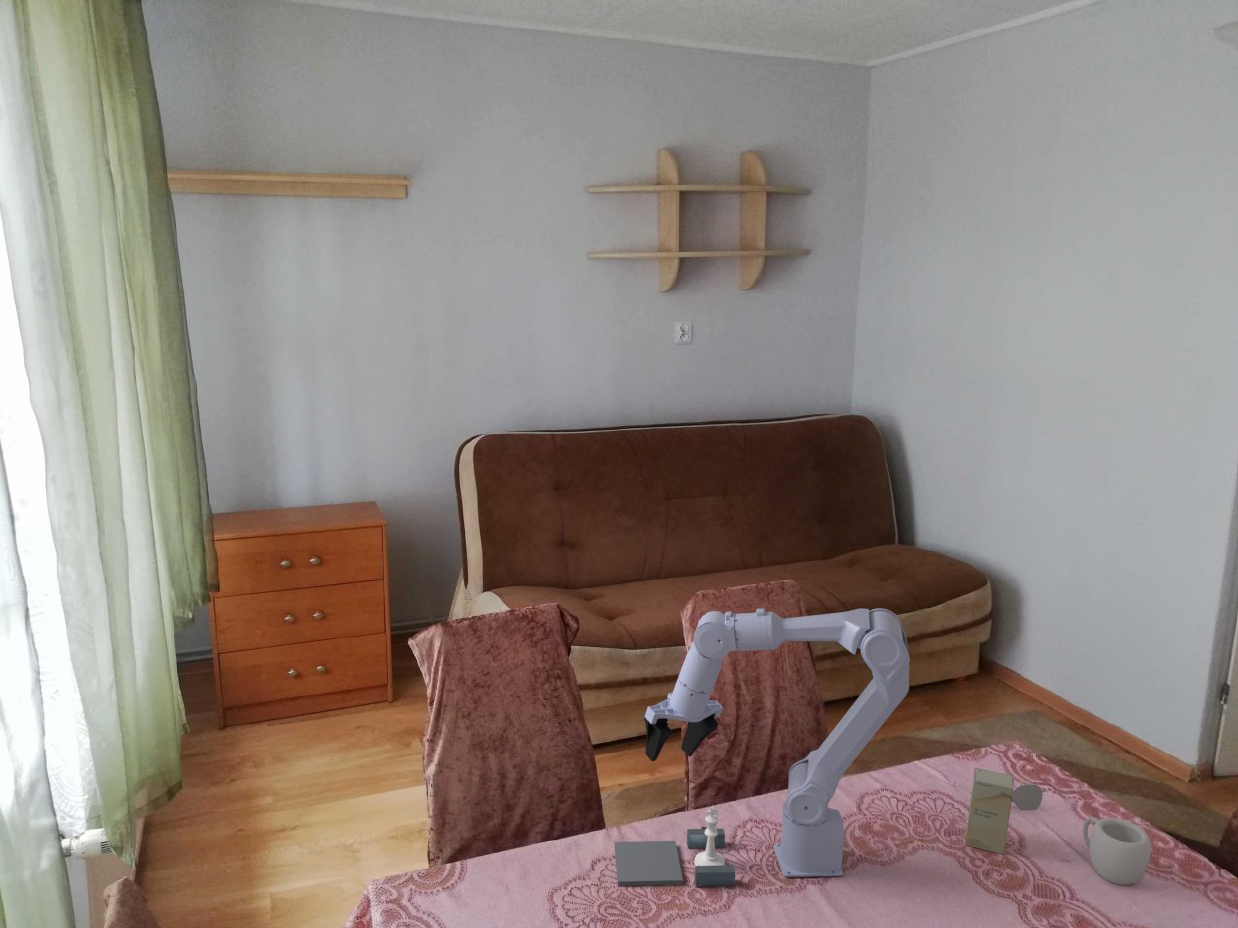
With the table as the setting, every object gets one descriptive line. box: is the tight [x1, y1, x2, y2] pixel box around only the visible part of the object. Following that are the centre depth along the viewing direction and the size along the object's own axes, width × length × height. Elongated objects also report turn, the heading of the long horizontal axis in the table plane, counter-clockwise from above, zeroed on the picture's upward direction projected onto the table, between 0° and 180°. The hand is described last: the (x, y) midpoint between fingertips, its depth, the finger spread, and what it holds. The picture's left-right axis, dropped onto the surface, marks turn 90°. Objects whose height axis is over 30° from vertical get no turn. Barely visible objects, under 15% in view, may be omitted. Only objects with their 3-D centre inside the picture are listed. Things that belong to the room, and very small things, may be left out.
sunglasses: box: [952, 779, 1046, 811], centre depth 172 cm, size 14×8×5 cm, turn 94°
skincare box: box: [965, 767, 1015, 855], centre depth 157 cm, size 6×4×12 cm
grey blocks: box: [686, 826, 736, 888], centre depth 152 cm, size 6×13×2 cm, turn 3°
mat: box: [614, 840, 684, 887], centre depth 151 cm, size 10×10×1 cm
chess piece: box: [694, 806, 726, 867], centre depth 150 cm, size 5×5×10 cm
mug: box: [1082, 816, 1152, 886], centre depth 151 cm, size 12×8×8 cm
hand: (668, 754), depth 154 cm, fingers open, 7 cm apart
